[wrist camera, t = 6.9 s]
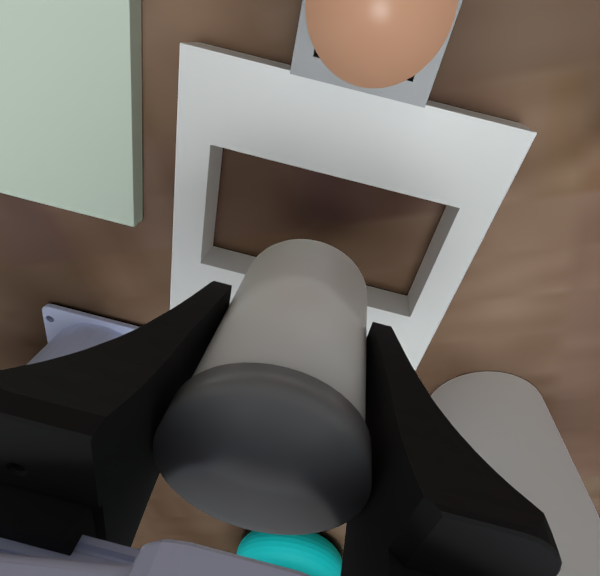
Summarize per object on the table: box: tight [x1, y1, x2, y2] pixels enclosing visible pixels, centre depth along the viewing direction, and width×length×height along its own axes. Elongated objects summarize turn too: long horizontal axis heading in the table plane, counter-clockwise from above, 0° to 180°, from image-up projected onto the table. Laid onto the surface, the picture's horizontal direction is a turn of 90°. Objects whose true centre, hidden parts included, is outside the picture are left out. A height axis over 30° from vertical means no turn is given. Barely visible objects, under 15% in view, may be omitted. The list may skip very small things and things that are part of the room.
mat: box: [0, 0, 143, 227], centre depth 19 cm, size 11×11×1 cm
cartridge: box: [153, 239, 372, 535], centre depth 12 cm, size 5×5×7 cm
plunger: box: [305, 0, 458, 88], centre depth 14 cm, size 4×4×4 cm
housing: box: [170, 0, 537, 371], centre depth 18 cm, size 18×14×3 cm
